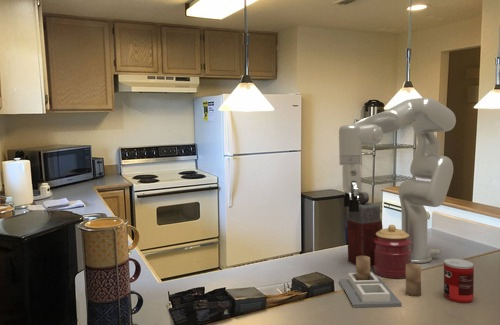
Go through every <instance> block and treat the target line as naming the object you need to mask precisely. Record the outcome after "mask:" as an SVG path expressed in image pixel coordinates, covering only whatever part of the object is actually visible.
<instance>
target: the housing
mask: <svg viewBox="0 0 500 325" xmlns="http://www.w3.org/2000/svg"><path fill="white" fill-rule="evenodd" d="M347 273H348V274H347V275H348V279H347V278H346V279H345V278H341V279H340V278H339V279H338V282H339V285H340V286H341V288H342V290H343V291H344V290H345V292H346V294H347V295H348V297H349V299H350V301H351V302H350V301H349V302H350V304H351V303H352V304H351V305H353V306H352V307H361V308H391V307H394V308H395V307H397V308H398V307H400V308H401V307H402V302H401V301H400V300H399V298H398V297H397V296H396V295H395V294H394V292H392V291H391V289H390V288H389V287H388V286H387V285H386V283H385V282H384V281H383V280H382V279H381V278H380V277H379V278H377V276H376V275H375V274H374V273H373V272H372V271H370V280H358V281H357V280H356V272H347ZM345 292H344V293H345ZM346 294H345V295H346ZM347 295H346V296H347ZM348 297H347V298H348ZM349 299H348V300H349Z"/></svg>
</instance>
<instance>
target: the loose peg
mask: <svg viewBox="0 0 500 325" xmlns="http://www.w3.org/2000/svg"><path fill="white" fill-rule="evenodd" d="M405 294H406V295H407V296H410V297H420V296H421V295H422V266H421V264H420V263H408V264H406V277H405Z"/></svg>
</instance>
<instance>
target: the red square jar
mask: <svg viewBox="0 0 500 325" xmlns="http://www.w3.org/2000/svg"><path fill="white" fill-rule="evenodd" d="M358 198H359V211H358V212H350V211H349V207H346V208H347V209H346V212H347V217H346V218H347V261H349V262H348V263H350V262H351V263H350V264H352V263H353V264H352V265H354V266H356V257H357V256H368V257H370V267H374V250H373V248H374V247H375V242H374V241H373V239H374V238H375V237H377V235H376V232H378V231H380V230H381V229H384V228H383V227H384V226H383V222H382V219H381V206H380V204H377V203H372V202H369V200H370V196H369V193H368V192H366V191H363V192H362V191H361V193H360V194H359V193H358Z"/></svg>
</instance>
